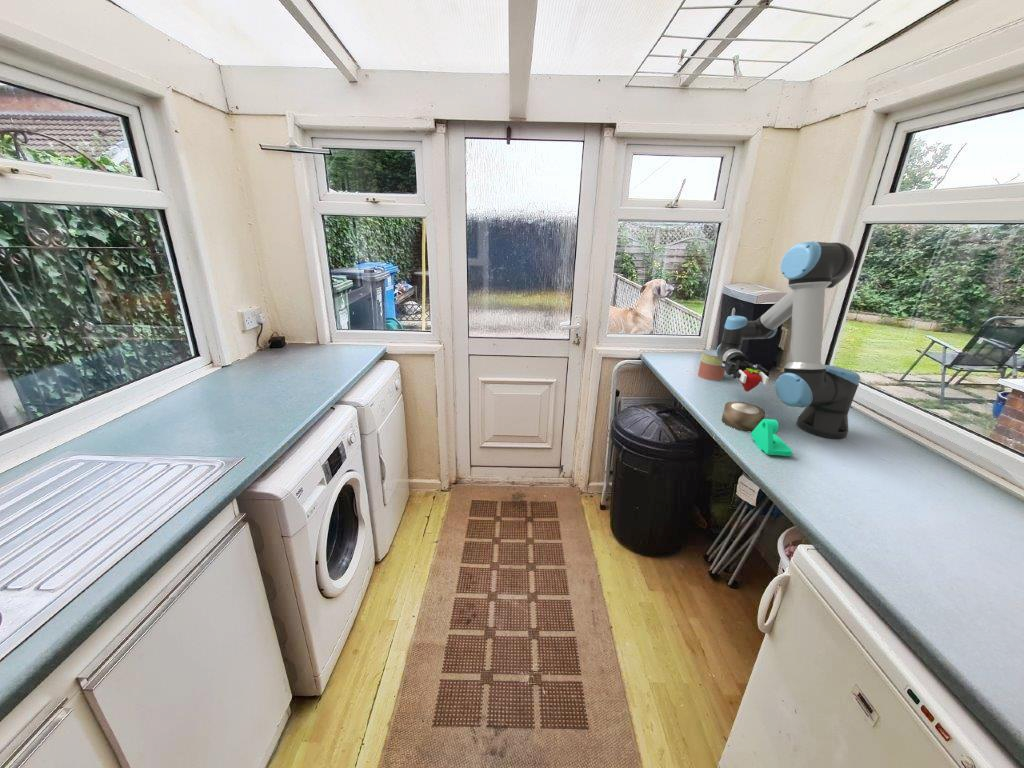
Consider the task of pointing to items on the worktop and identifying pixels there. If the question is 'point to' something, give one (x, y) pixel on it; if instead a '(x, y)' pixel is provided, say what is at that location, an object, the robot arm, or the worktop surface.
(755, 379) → the strawberry
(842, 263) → the robot arm
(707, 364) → the canned food
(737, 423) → the bronze puck
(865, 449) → the worktop surface
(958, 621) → the worktop surface
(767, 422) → the camera mount
